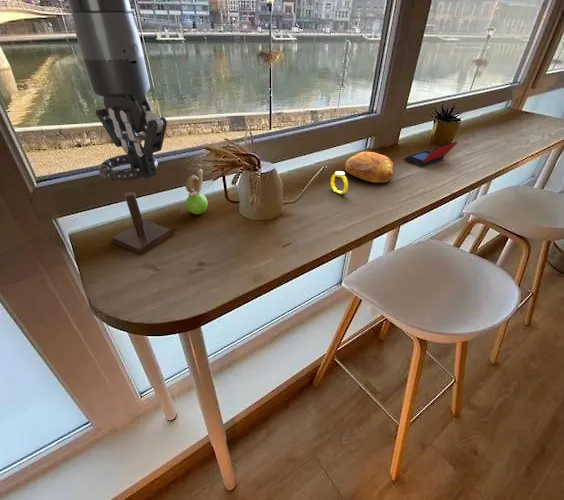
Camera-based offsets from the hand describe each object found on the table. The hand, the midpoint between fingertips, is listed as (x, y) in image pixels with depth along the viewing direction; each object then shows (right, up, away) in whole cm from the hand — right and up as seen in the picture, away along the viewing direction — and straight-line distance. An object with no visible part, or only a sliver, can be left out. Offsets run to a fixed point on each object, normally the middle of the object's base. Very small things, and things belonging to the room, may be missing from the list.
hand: (145, 174), depth 54 cm
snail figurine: (+1, -3, +31) cm, 31 cm away
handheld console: (+74, +18, +60) cm, 97 cm away
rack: (-9, -10, +21) cm, 25 cm away
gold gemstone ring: (+39, +4, +41) cm, 56 cm away
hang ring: (-3, +2, +1) cm, 4 cm away
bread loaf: (+51, +12, +51) cm, 73 cm away
